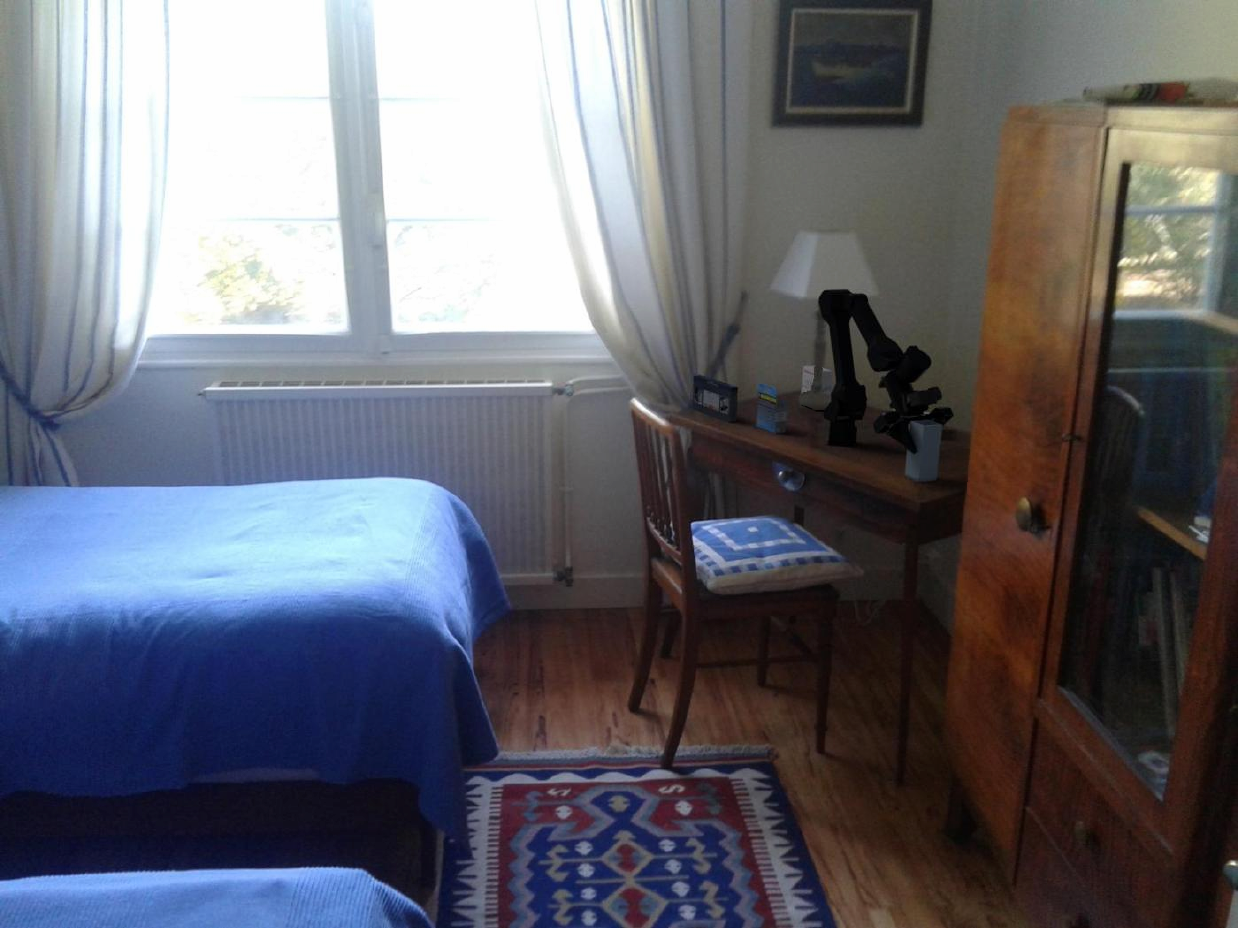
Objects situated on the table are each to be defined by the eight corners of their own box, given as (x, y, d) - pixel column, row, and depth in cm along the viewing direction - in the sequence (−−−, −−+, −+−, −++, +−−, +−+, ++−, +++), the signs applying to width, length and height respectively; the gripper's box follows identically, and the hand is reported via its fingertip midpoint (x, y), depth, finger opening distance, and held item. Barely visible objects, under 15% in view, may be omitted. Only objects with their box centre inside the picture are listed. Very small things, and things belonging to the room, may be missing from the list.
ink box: (830, 410, 307) (833, 370, 304) (815, 411, 305) (818, 371, 302) (814, 404, 315) (817, 364, 311) (799, 405, 313) (802, 365, 310)
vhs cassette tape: (691, 409, 305) (693, 375, 303) (700, 408, 307) (702, 374, 304) (727, 423, 290) (729, 387, 287) (737, 422, 291) (738, 386, 289)
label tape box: (786, 432, 281) (789, 387, 278) (773, 434, 280) (776, 388, 276) (767, 425, 289) (770, 380, 286) (754, 426, 287) (757, 381, 284)
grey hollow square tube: (904, 476, 245) (910, 421, 241) (922, 474, 247) (928, 419, 243) (918, 482, 241) (923, 426, 237) (936, 480, 242) (942, 424, 239)
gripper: (885, 377, 237) (910, 437, 231) (953, 372, 244) (980, 430, 237) (861, 403, 247) (885, 462, 240) (928, 398, 253) (953, 455, 247)
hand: (927, 452), depth 241 cm, fingers open, 6 cm apart
